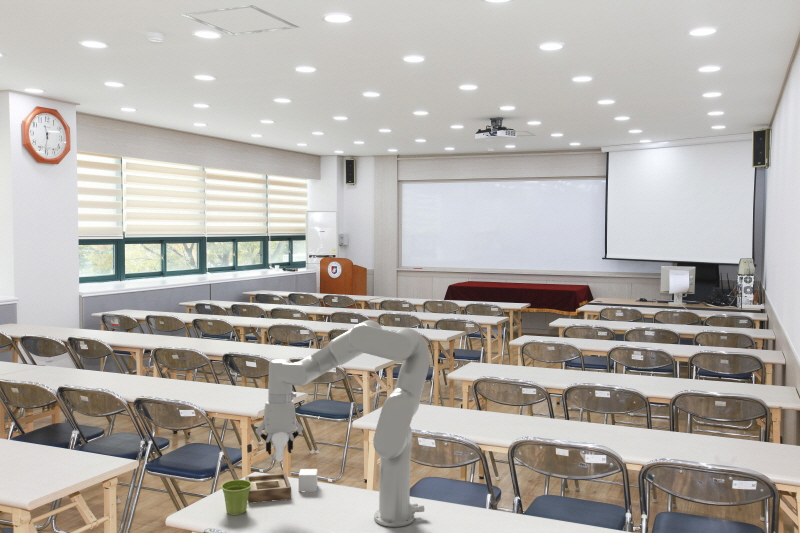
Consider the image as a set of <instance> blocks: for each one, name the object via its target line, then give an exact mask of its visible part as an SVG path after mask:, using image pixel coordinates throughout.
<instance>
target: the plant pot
mask: <svg viewBox="0 0 800 533" xmlns="http://www.w3.org/2000/svg"><path fill="white" fill-rule="evenodd" d="M251 486H252V483H251V482H249V481H247V480H245V479H232V480H228V481H226V482H223V483H222V484H221V486H220V488H221V490H222V492H223V495H224V501H225V502H224V503H225V508H226V509H225V510H226V513H227V515H229V514H230V515H231V516H237V515H238V516H240V515H242V514H243V513H246V511H247V508H248V495H249V491H250V487H251Z"/></svg>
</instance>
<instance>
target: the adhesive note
mask: <svg viewBox="0 0 800 533" xmlns="http://www.w3.org/2000/svg"><path fill="white" fill-rule="evenodd" d="M317 489H318V468H300V470H299V473H298V492H299V491H306V492H305V493H316V492H317Z"/></svg>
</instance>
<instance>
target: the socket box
mask: <svg viewBox="0 0 800 533" xmlns="http://www.w3.org/2000/svg"><path fill="white" fill-rule="evenodd" d="M244 480H247V481H249V482H251V483H252V486H251V487H250V491H249V495H248V501H247V504H254V503H253V502H256V503H263V502H262V501H267V502H273V501H272V500H277V501H284V500H285V499H287V500H292V486H291V483H290V481H289V478H288V475H287V473H286V472H283V473H282V472H281V473H270V474H261V475H260V474H259V475H249V476H245V479H244Z"/></svg>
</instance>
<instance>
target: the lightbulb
mask: <svg viewBox="0 0 800 533" xmlns="http://www.w3.org/2000/svg"><path fill="white" fill-rule="evenodd" d="M270 441H271V446H272V447H273V450H274V452H273V453H274V456H275V457H274V459H275V461H277V462H282V461H283V460H284V454H285V449H286V447H287V446H288V441H289V434H288V433H284V432H279V433H275V434H272V436H271V439H270Z"/></svg>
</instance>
